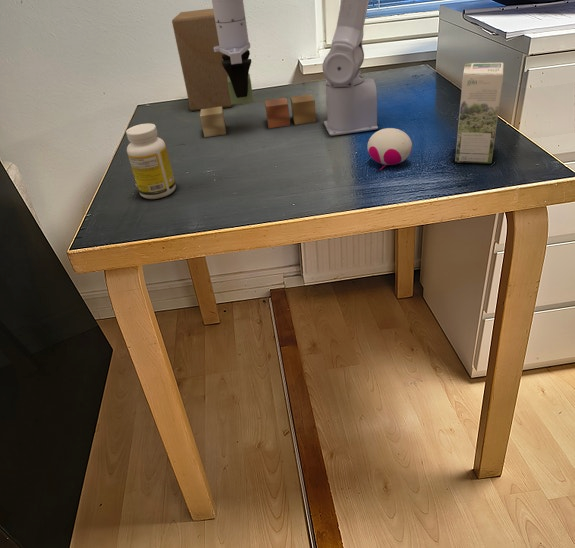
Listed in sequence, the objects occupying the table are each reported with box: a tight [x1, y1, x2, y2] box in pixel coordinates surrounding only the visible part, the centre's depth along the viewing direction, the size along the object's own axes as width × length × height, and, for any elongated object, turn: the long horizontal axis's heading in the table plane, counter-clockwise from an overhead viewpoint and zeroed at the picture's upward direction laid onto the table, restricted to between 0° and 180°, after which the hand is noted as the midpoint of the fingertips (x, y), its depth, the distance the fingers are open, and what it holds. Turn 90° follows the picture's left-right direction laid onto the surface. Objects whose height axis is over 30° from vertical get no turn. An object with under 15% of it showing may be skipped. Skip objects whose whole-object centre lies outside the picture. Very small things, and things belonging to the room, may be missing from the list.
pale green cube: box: [228, 73, 254, 106], centre depth 105 cm, size 4×4×4 cm
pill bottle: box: [125, 123, 177, 200], centre depth 85 cm, size 6×6×11 cm
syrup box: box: [454, 62, 505, 165], centre depth 82 cm, size 6×6×14 cm
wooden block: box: [171, 8, 233, 112], centre depth 121 cm, size 10×10×20 cm
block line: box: [199, 93, 317, 138], centre depth 108 cm, size 24×4×4 cm, turn 96°
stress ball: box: [366, 127, 413, 171], centre depth 86 cm, size 8×8×7 cm
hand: (241, 93), depth 105 cm, fingers closed on pale green cube, 4 cm apart
